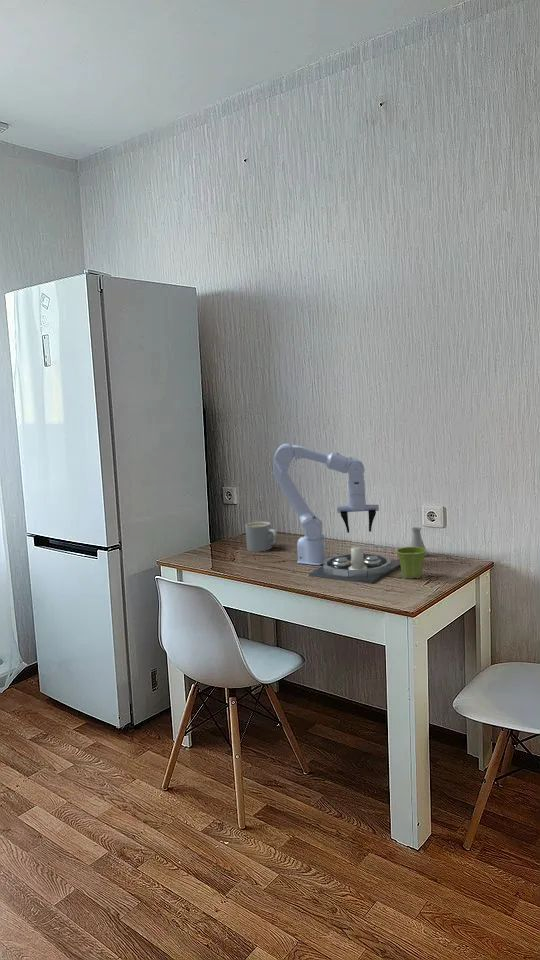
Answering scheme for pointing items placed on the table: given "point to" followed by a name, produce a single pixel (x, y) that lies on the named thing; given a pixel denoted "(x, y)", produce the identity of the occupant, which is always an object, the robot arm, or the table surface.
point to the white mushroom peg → (357, 559)
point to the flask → (417, 539)
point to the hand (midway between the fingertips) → (359, 531)
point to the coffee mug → (259, 536)
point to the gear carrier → (340, 570)
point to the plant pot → (411, 561)
